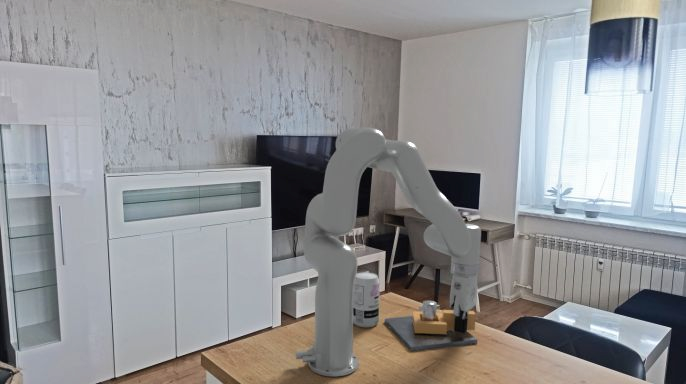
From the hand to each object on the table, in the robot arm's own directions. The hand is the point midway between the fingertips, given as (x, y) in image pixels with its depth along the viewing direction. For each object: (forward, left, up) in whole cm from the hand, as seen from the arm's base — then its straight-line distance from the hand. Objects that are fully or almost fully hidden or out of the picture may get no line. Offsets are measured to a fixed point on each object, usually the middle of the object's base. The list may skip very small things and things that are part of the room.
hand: (460, 331), depth 132 cm
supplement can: (-23, +18, -3) cm, 29 cm away
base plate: (-7, +7, -3) cm, 10 cm away
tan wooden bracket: (-3, +5, -1) cm, 6 cm away
